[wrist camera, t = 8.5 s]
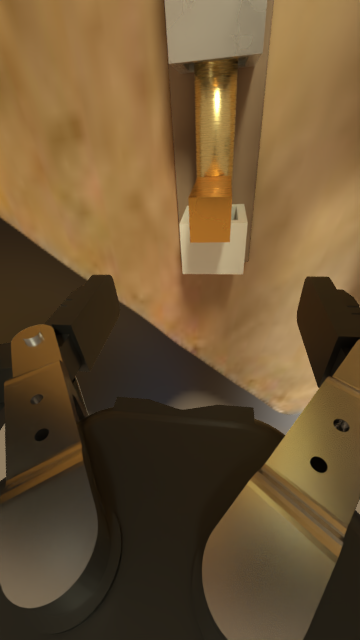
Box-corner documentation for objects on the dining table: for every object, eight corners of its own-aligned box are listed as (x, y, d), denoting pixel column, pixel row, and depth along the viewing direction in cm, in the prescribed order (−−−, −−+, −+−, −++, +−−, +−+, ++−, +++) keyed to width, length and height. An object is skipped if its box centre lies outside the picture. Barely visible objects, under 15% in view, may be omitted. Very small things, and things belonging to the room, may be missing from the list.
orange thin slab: (240, 7, 19) (250, -70, 11) (228, 242, 29) (229, 291, 21) (194, 13, 19) (172, -56, 11) (199, 242, 30) (189, 290, 22)
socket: (244, 204, 28) (247, 222, 23) (240, 249, 31) (243, 274, 26) (187, 205, 29) (179, 224, 24) (189, 250, 32) (182, 274, 27)
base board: (291, -195, 15) (294, -212, 15) (247, 257, 32) (248, 261, 32) (156, -163, 17) (152, -176, 16) (182, 258, 34) (181, 261, 33)
